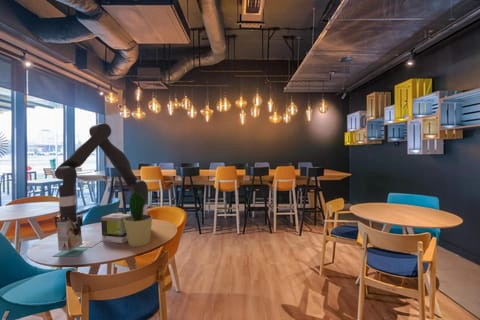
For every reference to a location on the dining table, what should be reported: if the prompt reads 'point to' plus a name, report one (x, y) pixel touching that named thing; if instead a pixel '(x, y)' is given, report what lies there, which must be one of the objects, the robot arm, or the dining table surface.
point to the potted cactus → (138, 222)
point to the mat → (70, 252)
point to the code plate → (89, 243)
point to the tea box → (114, 228)
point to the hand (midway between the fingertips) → (69, 235)
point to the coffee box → (68, 235)
